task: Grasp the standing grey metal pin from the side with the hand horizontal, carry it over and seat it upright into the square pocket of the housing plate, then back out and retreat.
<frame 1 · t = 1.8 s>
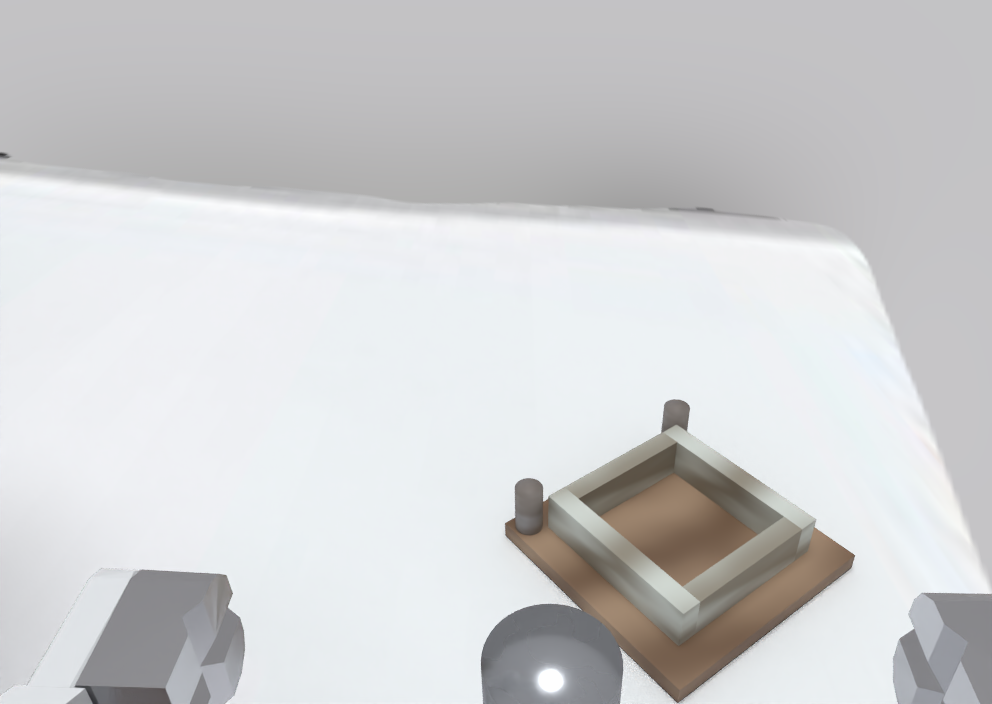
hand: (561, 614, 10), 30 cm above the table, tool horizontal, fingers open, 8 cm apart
housing: (673, 550, 50), on the table
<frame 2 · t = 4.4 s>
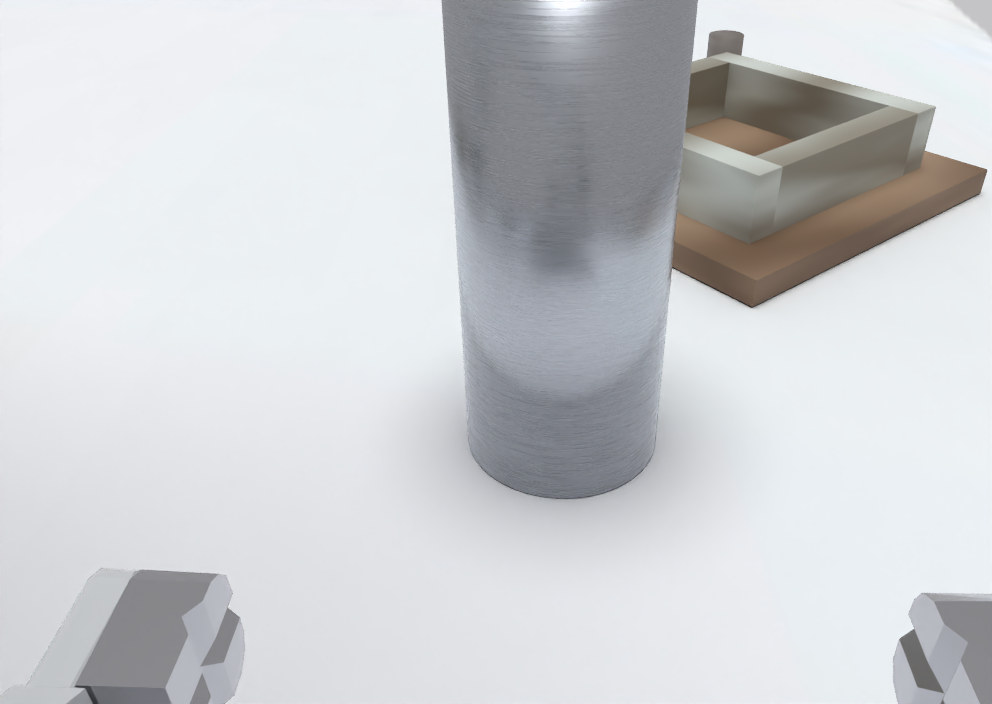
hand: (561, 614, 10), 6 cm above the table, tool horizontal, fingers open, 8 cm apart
housing: (729, 185, 36), on the table
pin: (561, 433, 23), on the table
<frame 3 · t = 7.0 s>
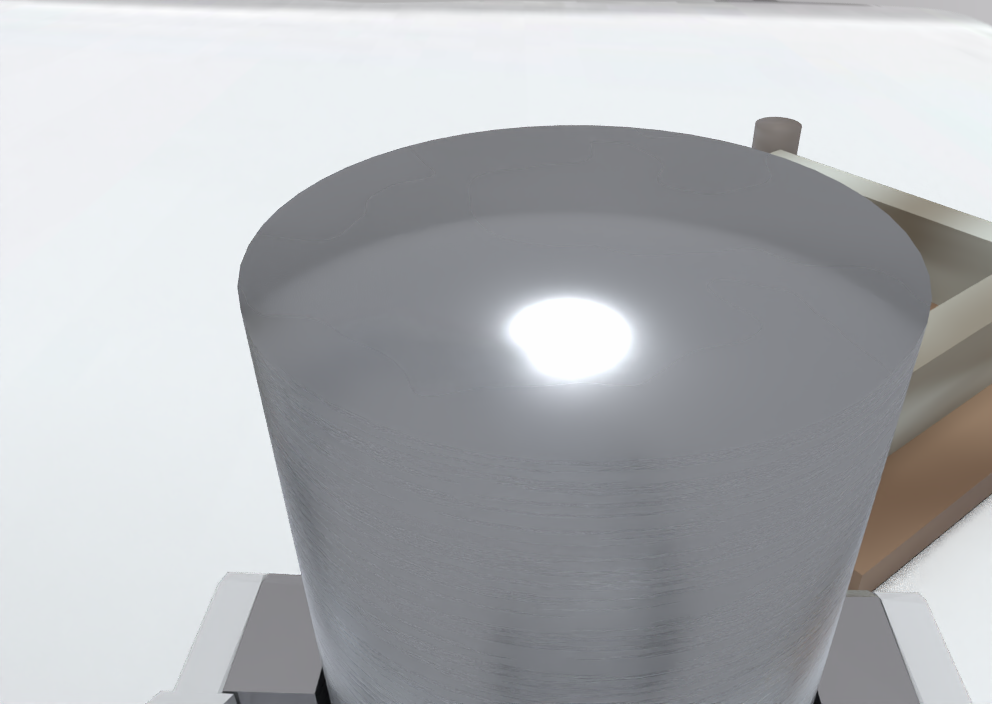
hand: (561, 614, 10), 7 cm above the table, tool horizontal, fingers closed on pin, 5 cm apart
housing: (791, 347, 26), on the table
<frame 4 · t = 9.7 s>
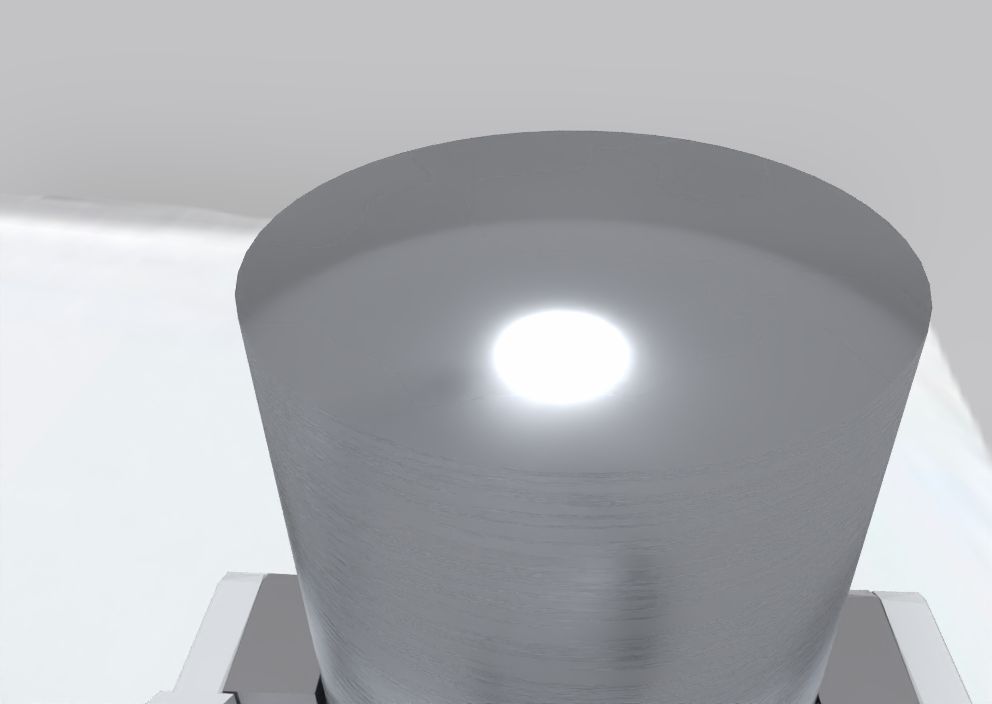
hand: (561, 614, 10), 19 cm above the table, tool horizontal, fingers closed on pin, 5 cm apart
when the fingers open (8 cm above the table, at t = 12.5 s): pin stays where it is, resting on housing.
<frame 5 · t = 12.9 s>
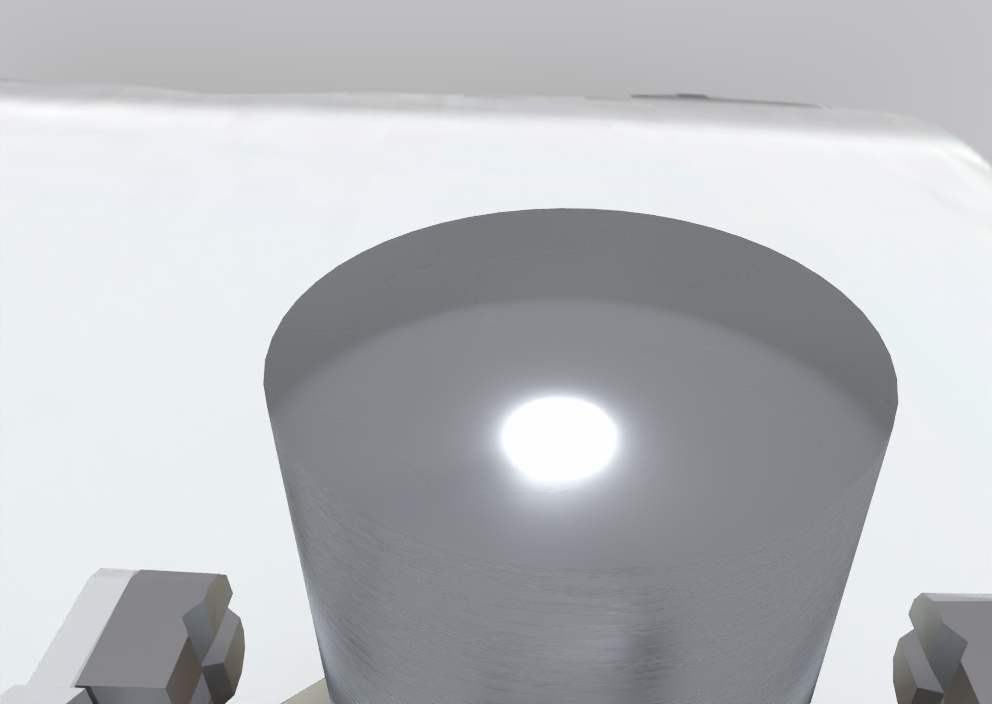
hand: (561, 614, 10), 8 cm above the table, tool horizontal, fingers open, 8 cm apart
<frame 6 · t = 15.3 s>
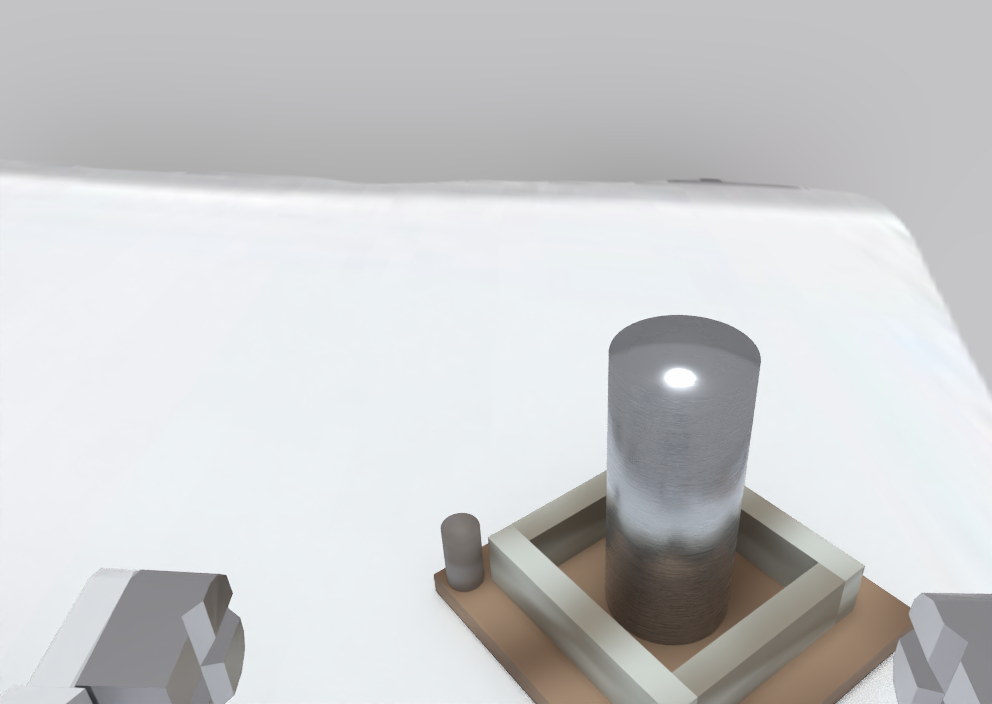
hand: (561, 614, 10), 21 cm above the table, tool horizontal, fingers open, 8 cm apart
housing: (665, 610, 36), on the table
pin: (665, 595, 36), point 1 cm above the table, touching housing
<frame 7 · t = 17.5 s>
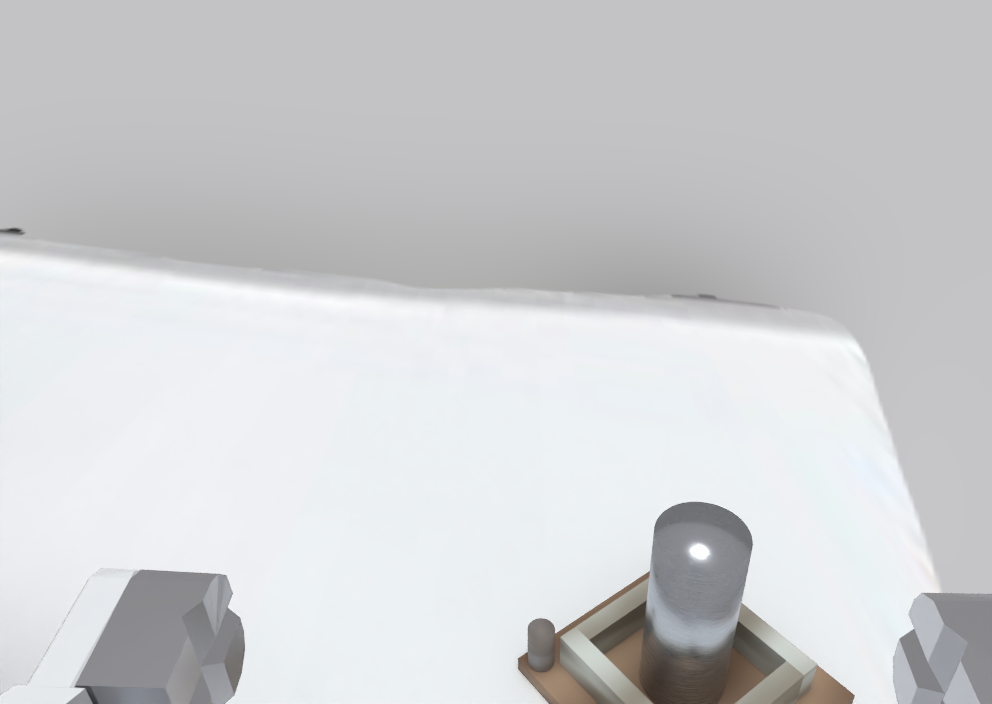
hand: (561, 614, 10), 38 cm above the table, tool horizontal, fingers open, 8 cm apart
housing: (680, 686, 52), on the table
pin: (681, 677, 52), point 1 cm above the table, touching housing
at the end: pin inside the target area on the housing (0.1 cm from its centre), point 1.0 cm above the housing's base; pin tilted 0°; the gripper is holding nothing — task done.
